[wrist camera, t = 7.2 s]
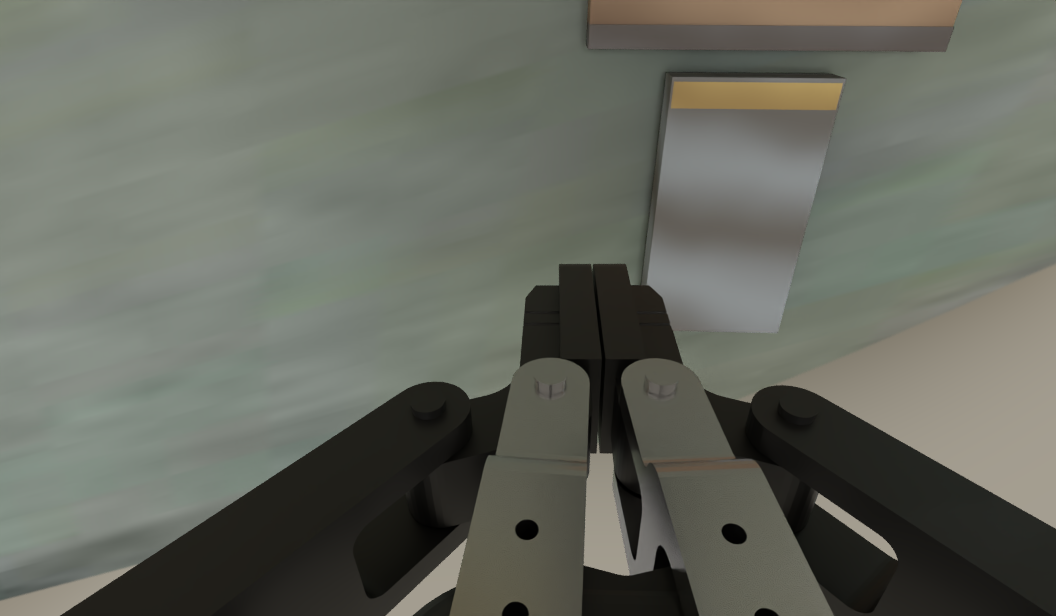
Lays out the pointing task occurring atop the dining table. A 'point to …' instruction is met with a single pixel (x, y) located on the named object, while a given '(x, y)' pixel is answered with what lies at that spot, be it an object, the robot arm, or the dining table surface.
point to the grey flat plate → (735, 193)
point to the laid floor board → (772, 25)
